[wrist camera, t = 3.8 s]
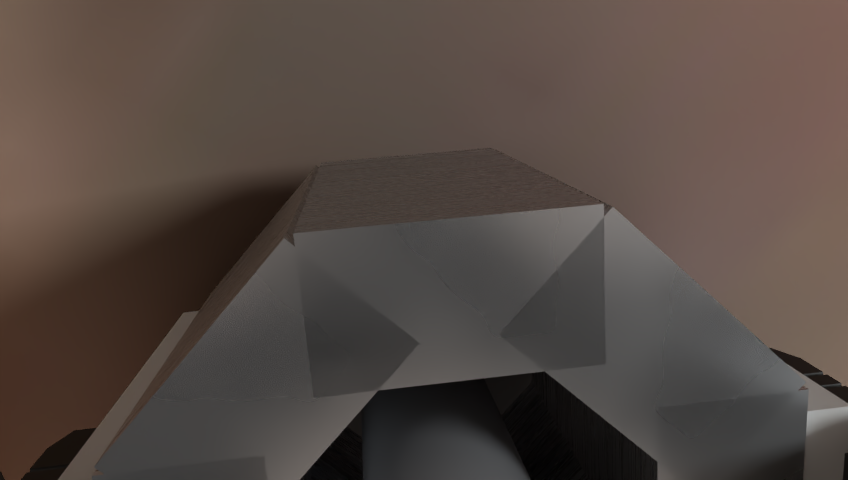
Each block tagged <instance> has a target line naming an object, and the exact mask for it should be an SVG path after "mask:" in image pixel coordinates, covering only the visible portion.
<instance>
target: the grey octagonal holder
mask: <svg viewBox="0 0 848 480" xmlns="http://www.w3.org/2000/svg"><path fill="white" fill-rule="evenodd" d="M526 373H531V383H530V384H529V385H528V386H527V387H526V388H525V389H524V391H523V392H522V393H521V394H520V395H519V396H518V397H517V398H516V399H515V400H514V402H513V403H512V404H511V405H510V406H509V407H508V408H507V409H506V410H505V411H504V412H503V414H502V415H501V416H502V418H503V420H504V422H505V425H506V427H507V429H508V431H509V433H510V435H511V438H512V440H513V442H514V444H515V446H516V448H517V451H518V453H519V455H520V457H521V459H522V461H523V464H524V466H525V468H526V470H527V472H528V474H529V477H530V479H531V480H803V472H804V457H805V442H806V426H807V411H808V396H809V389H808V388H806V387H805V386H803V385H804V384H805V383H806V381H804V380H803V379H802V378H801V377H800V376H799V375H798V374H797V373H796V372H794V371H793V370H792V369H791V368H790V367H789V366H788V365H787V364H786V363H785V362H783V361H782V360H781V359H780V358H779V357H778V356H777V355H776V354H775V353H774V352H772V351H771V350H770V349H769V348H768V347H767V346H766V345H765V344H764V343H763V342H761V341H760V340H759V339H758V338H757V337H756V336H755V335H754V334H753V333H751V332H750V331H749V330H748V329H747V328H746V327H745V326H744V325H743V324H742V323H740V322H739V321H738V320H737V319H736V318H735V317H734V316H733V315H732V314H731V313H729V312H728V311H727V310H726V309H725V308H724V307H723V306H722V305H721V304H720V303H718V302H717V301H716V300H715V299H714V298H713V297H712V296H711V295H710V294H708V293H707V292H706V291H705V290H704V289H703V288H702V287H701V286H700V285H699V284H697V283H696V282H695V281H694V280H693V279H692V278H691V277H690V276H689V275H688V274H686V273H685V272H684V271H683V270H682V269H681V268H680V267H679V266H678V265H677V264H675V263H674V262H673V261H672V260H671V259H670V258H669V257H668V256H667V255H665V254H664V253H663V252H662V251H661V250H660V249H659V248H658V247H657V246H656V245H654V244H653V243H652V242H651V241H650V240H649V239H648V238H647V237H646V236H645V235H643V234H642V233H641V232H640V231H639V230H638V229H637V228H636V227H635V226H634V225H632V224H631V223H630V222H629V221H628V220H627V219H626V218H625V217H624V216H622V215H621V214H620V213H619V212H618V211H617V210H616V209H615V208H614V207H612V206H610V205H608V204H606V203H604V202H602V201H600V200H598V199H596V198H594V197H592V196H590V195H588V194H586V193H584V192H581V191H579V190H577V189H575V188H573V187H571V186H569V185H567V184H565V183H563V182H561V181H559V180H557V179H555V178H553V177H551V176H549V175H547V174H545V173H542V172H540V171H538V170H536V169H534V168H532V167H530V166H528V165H526V164H524V163H522V162H520V161H518V160H516V159H514V158H512V157H510V156H508V155H506V154H504V153H501V152H499V151H497V150H494V149H492V148H485V149H474V150H462V151H451V152H439V153H428V154H416V155H405V156H393V157H382V158H370V159H359V160H347V161H336V162H324V163H321V165H320V167H318V166H317V165H316V166H315V168H314V169H313V170H312V171H311V172H310V174H309V175H308V176H307V177H306V179H305V180H304V181H303V182H302V183H301V185H300V186H299V187H298V188H297V189H296V191H295V192H294V193H293V194H292V196H291V197H290V198H289V199H288V200H287V202H286V203H285V204H284V205H283V206H282V208H281V209H280V210H279V211H278V213H277V214H276V215H275V216H274V217H273V219H272V220H271V221H270V222H269V223H268V225H267V226H266V227H265V228H264V230H263V231H262V232H261V233H260V234H259V236H258V237H257V238H256V239H255V240H254V242H253V243H252V244H251V245H250V247H249V248H248V249H247V250H246V251H245V253H244V254H243V255H242V256H241V257H240V259H239V260H238V261H237V262H236V264H235V265H234V266H233V267H232V268H231V270H230V271H229V272H228V273H227V274H226V276H225V277H224V278H223V279H222V280H221V282H220V283H219V284H218V285H217V287H216V288H215V289H214V290H213V291H212V293H211V294H210V295H209V297H208V298H207V300H206V301H205V303H204V304H203V306H202V307H201V309H200V310H199V312H198V313H197V315H196V316H195V318H194V319H193V321H192V322H191V324H190V325H189V327H188V328H187V330H186V331H185V333H184V334H183V336H182V337H181V338H180V340H179V341H178V343H177V344H176V346H175V347H174V349H173V350H172V352H171V353H170V355H169V356H168V358H167V359H166V361H165V362H164V364H163V365H162V367H161V368H160V370H159V371H158V373H157V374H156V376H155V377H154V379H153V380H152V382H151V383H150V385H149V386H148V387H147V389H146V390H145V392H144V393H143V395H142V396H141V398H140V399H139V401H138V402H137V404H136V405H135V407H134V408H133V410H132V411H131V413H130V414H129V416H128V417H127V419H126V420H125V422H124V423H123V425H122V426H121V428H120V429H119V431H118V432H117V434H116V435H115V436H114V438H113V439H112V441H111V442H110V444H109V445H108V447H107V448H106V450H105V451H104V453H103V454H102V456H101V457H100V459H99V460H98V462H97V463H96V465H95V466H94V468H96V470H95V472H94V473H93V475H92V480H363V460H362V437H361V436H359V435H358V434H356V433H355V432H353V431H352V430H351V429H349V428H348V427H347V425H348V424H349V423H350V422H351V421H352V420H353V419H354V417H355V416H356V415H357V414H358V413H359V412H360V411H361V410H362V408H363V407H364V406H365V405H366V404H367V403H368V402H369V400H370V399H371V398H372V397H373V396H374V395H375V394H376V392H377V391H378V390H387V389H395V388H404V387H413V386H421V385H430V384H439V383H448V382H456V381H465V380H474V379H482V378H491V377H500V376H509V375H517V374H526Z"/></svg>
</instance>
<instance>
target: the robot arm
mask: <svg viewBox="0 0 848 480" xmlns="http://www.w3.org/2000/svg"><path fill="white" fill-rule="evenodd" d="M198 312H199V311H193V312H184V313H183V314H182V315H181V317H180V318H179V319H178V321H177V322H176V323H175V325H174V326H173V327H172V329H171V330H170V331H169V333H168V334H167V335H166V337H165V338H164V339H163V341H162V342H161V343H160V345H159V346H158V347H157V349H156V350H155V351H154V353H153V354H152V355H151V356H150V358H149V359H148V360H147V362H146V363H145V364H144V366H143V367H142V368H141V370H140V371H139V372H138V374H137V375H136V376H135V378H134V379H133V380H132V382H131V383H130V384H129V386H128V387H127V388H126V390H125V391H124V392H123V394H122V395H121V396H120V398H119V399H118V400H117V402H116V403H115V404H114V406H113V407H112V408H111V410H110V411H109V412H108V414H107V415H106V416H105V418H104V419H103V420H102V422H101V423H100V424H99V426H98V427H97V428H92V429H83V430H75V431H73V432H71V433H70V434H68V435H67V436H65V437H64V438H62V439H61V440H59V441H58V442H56V443H55V444H53V445H52V446H50V447H49V448H47V449H46V451H45V452H44V453H43V454H42V455H41V456H40V458H39V459H38V460H37V461H36V462H35V464H34V465H33V466H32V467H31V468H30V472H28V473H26V474H25V475H24V477H23V478H22V479H21V480H92V475H93V473H94V472H95V470H96V468H94V466H95V465H96V463H97V462H98V460H99V459H100V457H101V456H102V454H103V453H104V451H105V450H106V448H107V447H108V445H109V444H110V442H111V441H112V439H113V438H114V436H115V435H116V434H117V432H118V431H119V429H120V428H121V426H122V425H123V423H124V422H125V420H126V419H127V417H128V416H129V414H130V413H131V411H132V410H133V408H134V407H135V405H136V404H137V402H138V401H139V399H140V398H141V396H142V395H143V393H144V392H145V390H146V389H147V387H148V386H149V385H150V383H151V382H152V380H153V379H154V377H155V376H156V374H157V373H158V371H159V370H160V368H161V367H162V365H163V364H164V362H165V361H166V359H167V358H168V356H169V355H170V353H171V352H172V350H173V349H174V347H175V346H176V344H177V343H178V341H179V340H180V338H181V337H182V336H183V334H184V333H185V331H186V330H187V328H188V327H189V325H190V324H191V322H192V321H193V319H194V318H195V316H196V315H197V313H198ZM769 349H770V350H771V351H772V352H774V353H775V354H776V355H777V356H778V357H779V358H780V359H781V360H782V361H783V362H785V363H786V364H787V365H788V366H789V367H790V368H791V369H792V370H793V371H794V372H796V373H797V374H798V375H799V376H800V377H801V378H802V379H803V380H804V381H806V383H805V384H804V385H803V386H805V387H806V388H808V389H809V396H808V411H807V426H806V442H805V457H804V472H803V480H848V387H846V386H841V383H840V382H838V381H837V380H835V379H833V378H832V377H830V376H829V375H823V372H822V371H820V370H819V369H817V368H815V367H814V366H812V365H811V364H809V363H807V362H806V361H804V360H802V359H801V358H798V357H795V356H792V355H789V354H786V353H784V352H781V351H778V350H775V349H772V348H769ZM0 480H5V479H4V477H3V475H2V473H1V472H0Z"/></svg>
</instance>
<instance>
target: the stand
mask: <svg viewBox="0 0 848 480" xmlns="http://www.w3.org/2000/svg"><path fill="white" fill-rule="evenodd" d="M530 383H531V373H526V374H517V375H509V376H500V377H491V378H482V379H474V380H465V381H456V382H448V383H439V384H430V385H421V386H413V387H404V388H395V389H387V390H378V391H377V392H376V394H375V395H374V396H373V397H372V398H371V399H370V400H369V402H368V403H367V404H366V405H365V406H364V407H363V408H362V410H361V411H360V412H359V413H358V414H357V415H356V416H355V417H354V419H353V420H352V421H351V422H350V423H349V424H348V425H347V427H348V428H349V429H351V430H352V431H353V432H355V433H356V434H358V435H359V436H361V437H362V460H363V480H531V479H530V477H529V474H528V472H527V470H526V468H525V466H524V464H523V461H522V459H521V457H520V455H519V453H518V451H517V448H516V446H515V444H514V442H513V440H512V438H511V435H510V433H509V431H508V429H507V427H506V425H505V422H504V420H503V418H502V416H501V415H502V414H503V412H504V411H505V410H506V409H507V408H508V407H509V406H510V405H511V404H512V403H513V402H514V400H515V399H516V398H517V397H518V396H519V395H520V394H521V393H522V392H523V391H524V389H525V388H526V387H527V386H528V385H529V384H530Z"/></svg>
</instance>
